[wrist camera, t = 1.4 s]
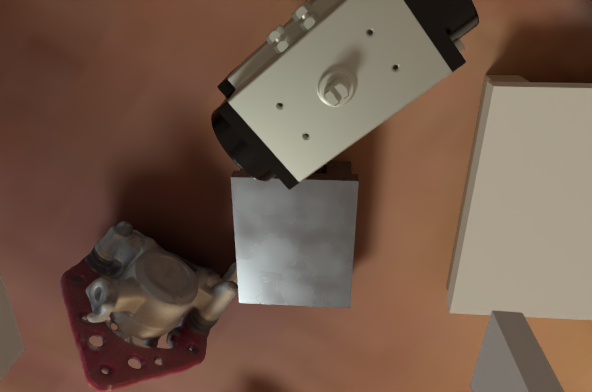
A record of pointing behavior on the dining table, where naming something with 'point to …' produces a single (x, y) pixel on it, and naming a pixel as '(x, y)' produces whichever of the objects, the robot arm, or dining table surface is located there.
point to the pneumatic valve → (334, 80)
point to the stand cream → (527, 203)
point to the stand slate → (296, 238)
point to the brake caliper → (141, 308)
